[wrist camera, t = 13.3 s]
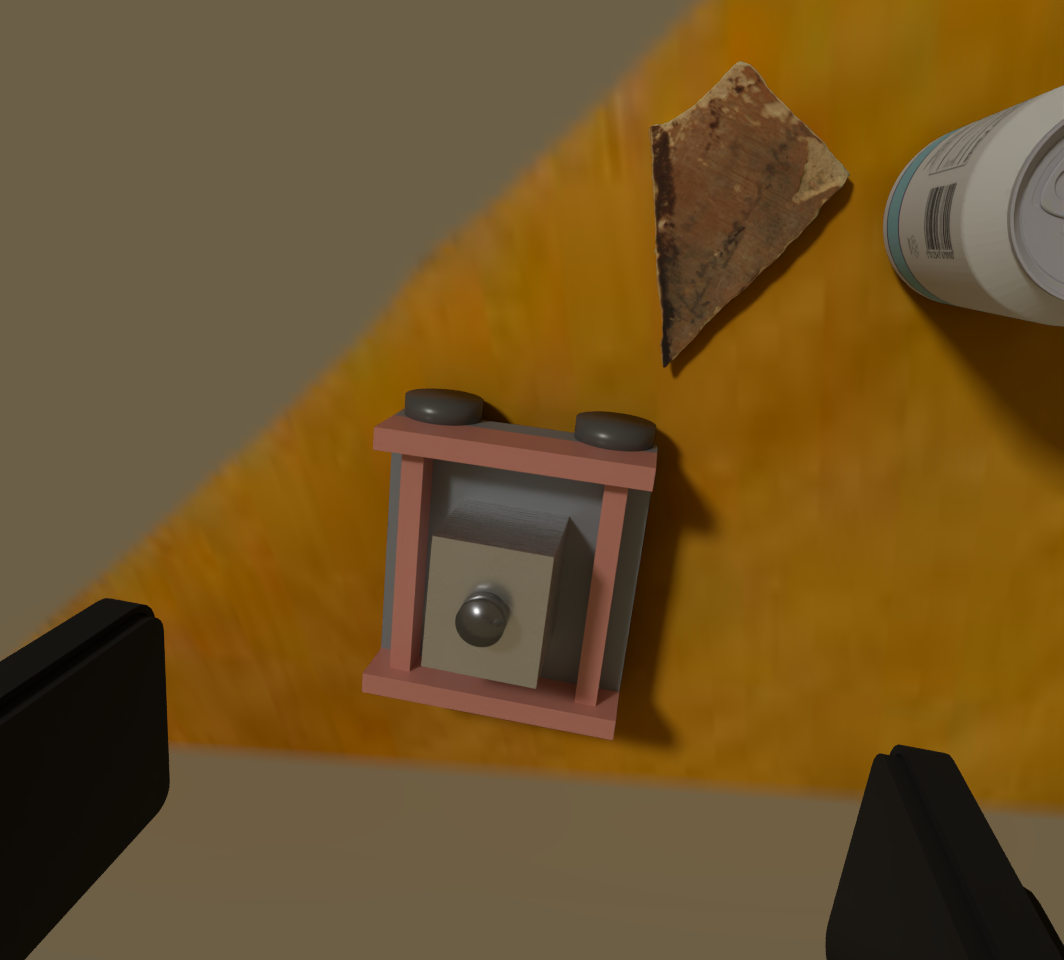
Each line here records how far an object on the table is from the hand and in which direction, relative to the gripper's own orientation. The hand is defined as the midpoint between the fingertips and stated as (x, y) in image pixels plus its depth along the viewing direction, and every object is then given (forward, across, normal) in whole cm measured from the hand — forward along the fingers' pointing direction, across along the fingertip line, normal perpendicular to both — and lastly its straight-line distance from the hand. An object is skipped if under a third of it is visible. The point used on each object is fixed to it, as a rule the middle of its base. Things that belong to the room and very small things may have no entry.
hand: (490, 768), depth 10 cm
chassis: (+28, +4, +8) cm, 30 cm away
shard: (+29, -4, -8) cm, 30 cm away
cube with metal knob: (+25, +4, +8) cm, 27 cm away
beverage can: (+28, -13, -9) cm, 33 cm away
